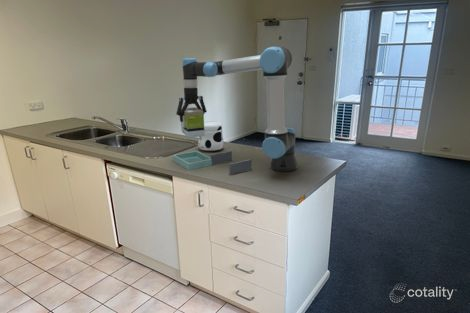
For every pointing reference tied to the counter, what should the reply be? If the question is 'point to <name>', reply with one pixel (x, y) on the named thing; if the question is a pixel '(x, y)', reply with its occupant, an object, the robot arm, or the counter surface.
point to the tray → (192, 160)
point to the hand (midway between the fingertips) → (192, 126)
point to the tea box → (193, 122)
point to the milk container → (211, 137)
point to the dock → (233, 167)
